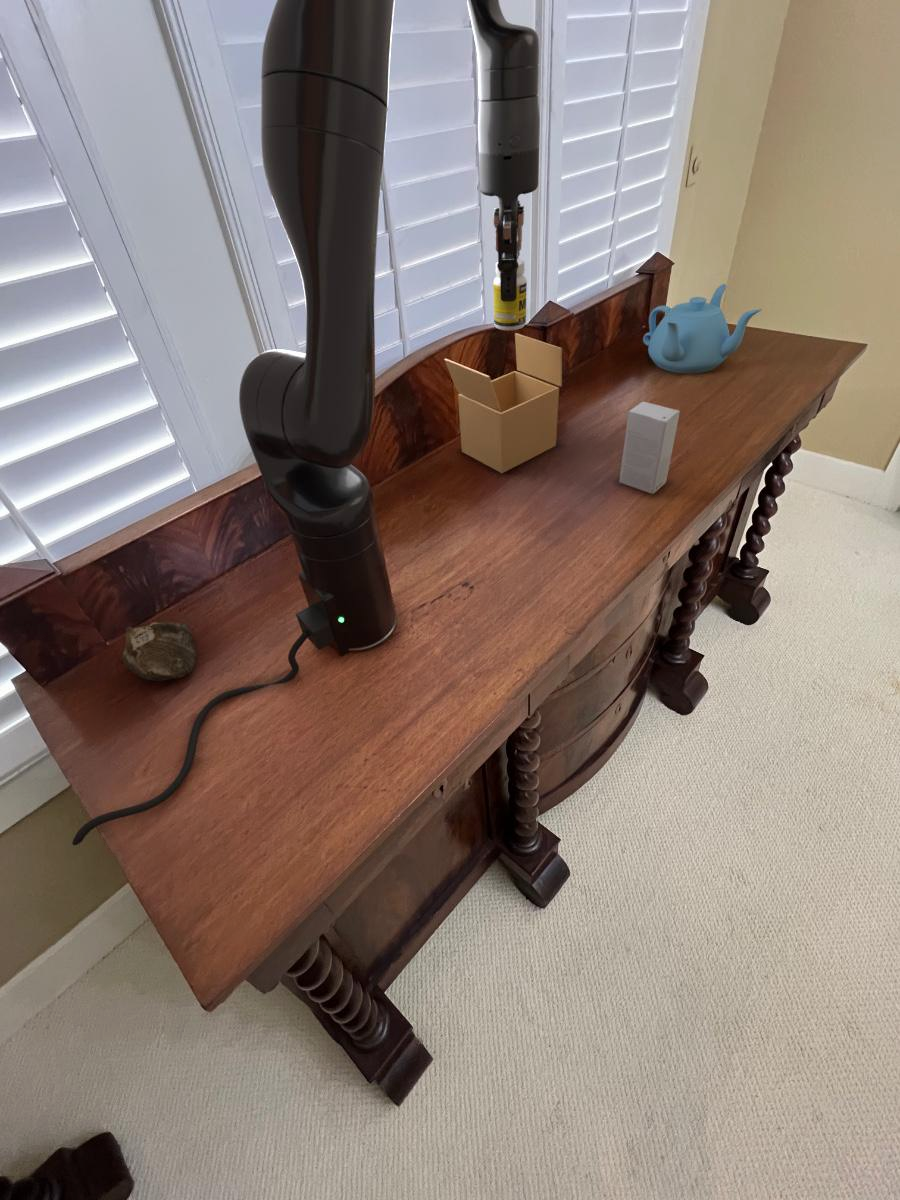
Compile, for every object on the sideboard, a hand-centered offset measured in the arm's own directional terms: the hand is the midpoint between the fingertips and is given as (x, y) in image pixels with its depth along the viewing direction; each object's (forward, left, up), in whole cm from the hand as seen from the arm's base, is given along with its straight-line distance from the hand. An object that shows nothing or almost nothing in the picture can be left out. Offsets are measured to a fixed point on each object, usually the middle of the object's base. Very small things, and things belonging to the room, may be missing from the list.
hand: (509, 293), depth 84 cm
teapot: (+52, 0, -26) cm, 58 cm away
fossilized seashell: (-63, -7, -26) cm, 69 cm away
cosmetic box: (+8, -22, -26) cm, 35 cm away
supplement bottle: (0, 0, -5) cm, 5 cm away
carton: (+1, +1, -25) cm, 25 cm away
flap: (-7, +1, -11) cm, 13 cm away
